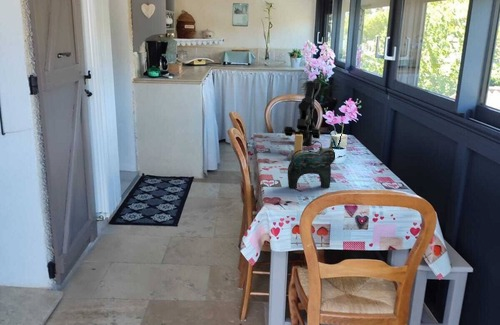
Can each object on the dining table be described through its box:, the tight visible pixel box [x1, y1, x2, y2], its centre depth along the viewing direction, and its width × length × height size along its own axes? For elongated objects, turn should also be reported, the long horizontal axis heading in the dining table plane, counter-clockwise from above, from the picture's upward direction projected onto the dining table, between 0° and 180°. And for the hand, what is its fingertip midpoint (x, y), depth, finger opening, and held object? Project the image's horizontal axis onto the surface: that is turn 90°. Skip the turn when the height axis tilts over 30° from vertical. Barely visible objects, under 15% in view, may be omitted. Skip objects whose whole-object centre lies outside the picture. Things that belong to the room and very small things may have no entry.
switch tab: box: [293, 134, 303, 155], centre depth 230 cm, size 2×4×11 cm, turn 76°
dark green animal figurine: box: [287, 140, 336, 190], centre depth 188 cm, size 20×6×20 cm, turn 99°
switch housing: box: [286, 147, 308, 162], centre depth 236 cm, size 16×10×3 cm, turn 165°
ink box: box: [329, 133, 349, 150], centre depth 240 cm, size 9×5×12 cm, turn 129°
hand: (299, 145), depth 236 cm, fingers closed
